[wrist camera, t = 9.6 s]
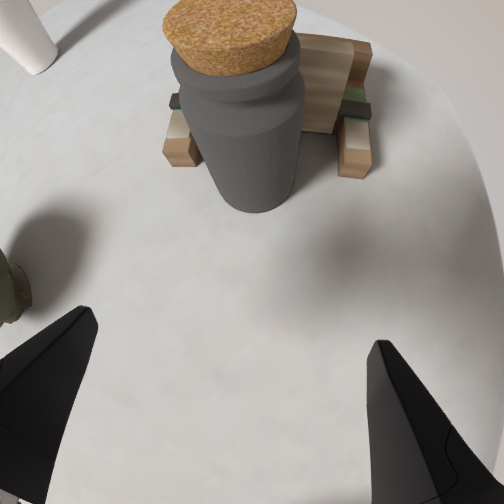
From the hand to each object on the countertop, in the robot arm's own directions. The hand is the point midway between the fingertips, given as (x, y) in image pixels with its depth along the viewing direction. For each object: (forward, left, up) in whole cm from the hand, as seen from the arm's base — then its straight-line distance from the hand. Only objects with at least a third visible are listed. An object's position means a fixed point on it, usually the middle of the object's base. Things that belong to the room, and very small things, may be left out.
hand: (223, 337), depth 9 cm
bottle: (+8, +7, -12) cm, 16 cm away
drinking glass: (+3, +44, -12) cm, 46 cm away
